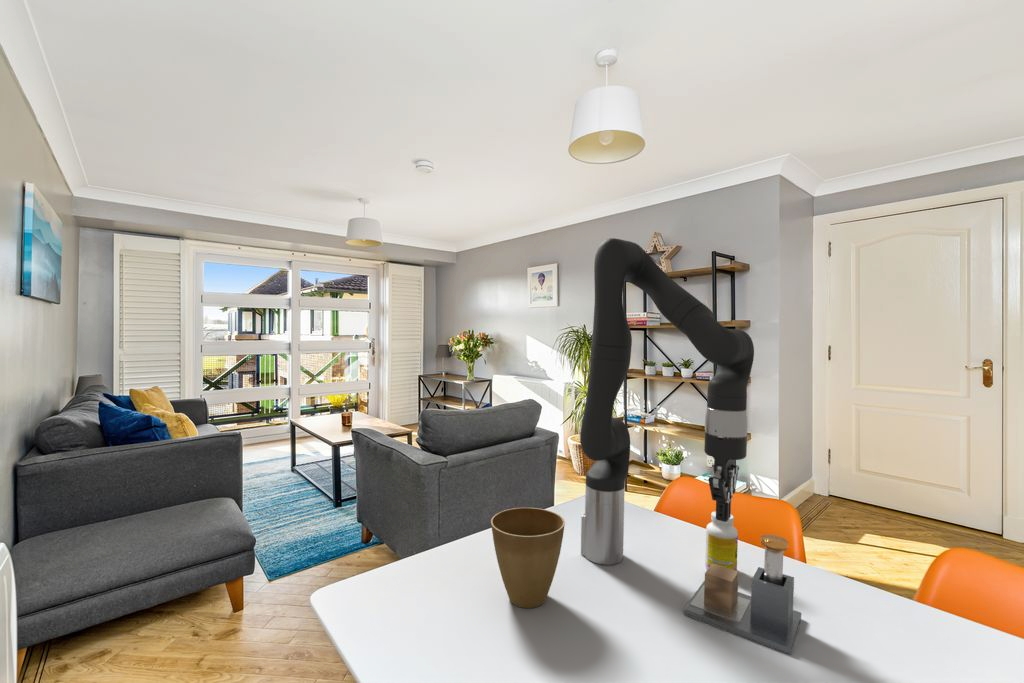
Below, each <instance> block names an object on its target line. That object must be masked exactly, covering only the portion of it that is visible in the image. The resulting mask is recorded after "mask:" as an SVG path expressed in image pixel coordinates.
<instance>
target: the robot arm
mask: <svg viewBox="0 0 1024 683" xmlns="http://www.w3.org/2000/svg"><path fill="white" fill-rule="evenodd" d="M593 268H594V271H593V272H594V274H593V275H594V277H593V278H594V307H593V308H594V309H593V322H592V325H593V326H592V336H591V345H590V358H589V372H588V373H589V374H588V382H587V392H586V400H585V406H584V411H583V416H582V421H581V426H580V431H579V432H580V433H579V435H580V436H579V440H580V446H581V449H582V452H583V454H584V455H585V456H586V457H587V458H588V459H589V460H592V461H594V462H593V464H592V466H591V467H590V468H589V469H588V470H587V472H586V474H585V494H584V495H585V497H584V498H585V501H584V503H585V504H584V514H582V515H581V520H580V521H581V525H580V526H581V527H580V528H581V529H580V530H581V531H580V555H582V556H584V557H585V558H586V559H587V560H588V561H590V562H593V563H594V564H599V565H606V566H611V565H616V564H619V563H621V562H622V561H624V560H623V559H624V539H625V538H624V532H625V530H624V529H625V528H624V527H625V487H626V486H625V484H626V479H627V477H628V475H629V470H630V458H631V456H630V455H631V434H630V430H629V428H628V426H627V425H626V423H625V422H624V421H623V420H621V419H619V418H617V417H613V413H614V405H615V402H616V398H617V396H618V394H619V392H620V389H621V387H622V386H623V384H624V381H625V379H626V377H627V375H628V372H629V368H630V364H631V357H632V356H631V354H632V346H633V345H632V344H633V341H632V340H633V337H632V331H631V328H630V325H629V322H628V318H627V316H626V315H627V314H626V313H625V309H624V304H623V303H624V302H623V301H624V300H623V298H624V297H623V295H624V293H623V291H624V283H625V282H628V283H630V284H632V285H634V286H635V287H637V288H639V289H640V290H642V291H643V292H644V293H645V294H647V295H648V296H649V298H650V299H651V301H652V302H653V303H654V305H655V307H656V308H657V310H658V311H659V313H660V314H661V315H662V316H663V317H664V318H665V319H666V320H667V321H668V322H670V323H671V325H673V326H674V327H675V328H676V329H677V330H679V331H680V332H681V333H683V335H685V337H687V338H688V340H689V342H690V343H691V344H692V346H694V348H695V349H696V351H698V353H699V354H700V355H701V356H702V358H705V360H707V361H709V362H710V363H711V364H713V365H716V371H715V375H714V376H713V377H712V378H711V379H710V380H709V382H708V383H707V384H708V385H707V392H706V393H707V396H706V398H707V399H706V412H705V420H704V445H703V446H704V449H703V450H704V451H703V452H704V453H705V454H706V455H707V456H708V457H711V458H713V459H714V462H713V464H712V465H711V468H710V469H711V471H710V472H711V475H712V476H709V477H708V485H709V489H710V495H711V499H712V501H715V502H716V503H715V511H716V519H717V520H720V521H724V522H727V521H728V519H729V518H730V517H731V515H732V500H733V498H734V495H735V493H736V488H737V483H738V482H737V481H738V476H739V470H740V467H739V465H738V464H736V461H739V460H744V459H745V458H746V457H747V449H748V448H747V447H748V416H747V407H748V406H747V402H748V401H747V400H748V391H747V388H748V384H749V381H750V377H751V373H752V368H753V363H754V357H755V347H754V342H753V339H752V337H751V336H750V335H749V333H747V332H746V331H745V330H742V329H738V328H727V327H726V326H724V325H722V324H721V323H720V322H718V321H717V320H716V319H715V314H714V312H713V311H712V310H711V309H710V308H709V307H708V306H707V305H706V304H704V303H703V302H701V301H700V300H699V299H698V298H696V297H695V296H693V295H692V294H691V293H690V292H689V291H687V290H686V289H684V287H682V286H680V284H678V283H677V282H676V281H674V280H673V278H671V277H670V276H669V275H668V274H667V273H666V272H665V271H664V270H662V268H661V267H660V266H659V265H658V264H657V263H656V262H655V261H654V260H653V258H652V257H651V256H650V255H649V254H648V253H647V251H645V249H643V247H641V246H640V245H639V244H638V243H636V242H633V241H630V240H625V239H620V238H615V237H614V238H606V239H605V240H603V241H602V242H601V243H600V244H599V246H598V248H597V250H596V253H595V256H594V267H593Z"/></svg>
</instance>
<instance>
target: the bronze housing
mask: <svg viewBox="0 0 1024 683" xmlns="http://www.w3.org/2000/svg"><path fill="white" fill-rule="evenodd" d="M704 581H705V585H704V603H705V604H708V605H710V606H713V607H716V608H719V609H722V610H725V611H727V612H730V613H731V612H732V610H733V609H734V607H735V605H736V603H737V601H738V592H739V571H738V570H737V571H736V570H732V569H729V568H726V567H722V566H719V565H716V564H711V566H710V567H709V568H708V570H707V569H706V571H705V572H704Z"/></svg>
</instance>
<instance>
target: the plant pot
mask: <svg viewBox="0 0 1024 683" xmlns="http://www.w3.org/2000/svg"><path fill="white" fill-rule="evenodd" d="M490 524H491V531H492V532H491V533H492V539H493V545H494V546H493V547H494V552H495V556H496V560H497V564H498V567H499V569H498V570H499V571H500V575H501V578H502V582H503V585H504V588H505V591H506V594H507V596H508V598H509V601H510V602H511V603H512V604H513V605H514V606H516V607H519V608H523V609H533V608H537V607H539V606H542V605H543V604H544V603H545V601H546V600H547V596H548V595H549V591H550V588H551V587H552V583H553V580H554V577H555V573H556V570H557V567H558V564H559V563H558V562H559V559H560V555H561V550H562V544H563V539H564V531H565V525H566V523H565V519H564V518H563V517H562V516H561V515H560V514H559V513H556V512H554V511H552V510H548V509H543V508H540V507H539V508H538V507H514V508H509V509H505V510H502V511H499V512H498V513H495V515H493V516H492V517H491V519H490Z"/></svg>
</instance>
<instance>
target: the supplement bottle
mask: <svg viewBox="0 0 1024 683" xmlns="http://www.w3.org/2000/svg"><path fill="white" fill-rule="evenodd" d="M710 518H711V522H709V523H708V524H707V525H706V526H705V527H706V529H705V530H706V532H705V559H704V561H705V562H704V564H705V568H706V571H707V570H708V568H709V567H710V566H711V564H716V565H719V566H722V567H726V568H729V569H732V570H736V571H738V540H739V539H738V538H739V537H738V536H739V533H738V530H737V528H736V527H735V526H734V525H733V524H734V522H735V521H734V519H735V518H734V515H733V514H731V517H730V518H729V519H728V521H727V522H724V521H720V520H717V519H716V510H715V511H712V512H711V515H710Z"/></svg>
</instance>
